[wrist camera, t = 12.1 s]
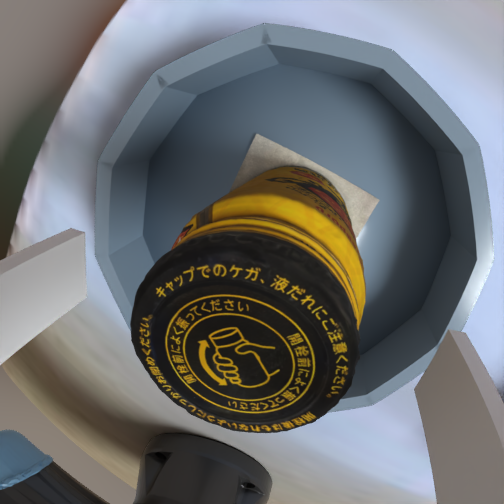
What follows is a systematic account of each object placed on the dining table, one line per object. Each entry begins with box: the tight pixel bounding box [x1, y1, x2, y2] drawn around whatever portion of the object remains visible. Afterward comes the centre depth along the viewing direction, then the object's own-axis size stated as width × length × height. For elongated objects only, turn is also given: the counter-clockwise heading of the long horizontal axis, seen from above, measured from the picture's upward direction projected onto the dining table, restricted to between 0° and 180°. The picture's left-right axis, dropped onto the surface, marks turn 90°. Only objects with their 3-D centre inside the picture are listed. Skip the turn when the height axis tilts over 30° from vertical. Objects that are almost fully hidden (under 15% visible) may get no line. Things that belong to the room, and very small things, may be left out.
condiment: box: [130, 134, 380, 433], centre depth 12 cm, size 7×8×12 cm
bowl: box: [95, 23, 494, 413], centre depth 16 cm, size 20×20×5 cm
